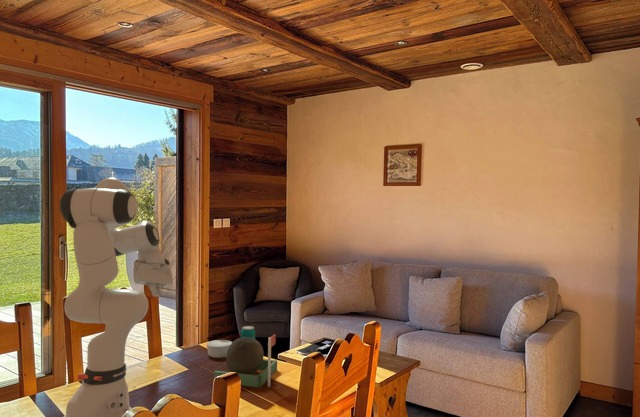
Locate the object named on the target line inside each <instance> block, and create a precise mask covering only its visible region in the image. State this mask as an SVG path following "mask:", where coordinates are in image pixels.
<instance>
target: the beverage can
mask: <svg viewBox="0 0 640 417" xmlns="http://www.w3.org/2000/svg"><path fill="white" fill-rule="evenodd" d="M241 328H242V329H241V330H240V334H241V336H240V338H241V337H249V338H253V339H255V340H256V330H255V326H253V325H244V326H242V327H241Z"/></svg>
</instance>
